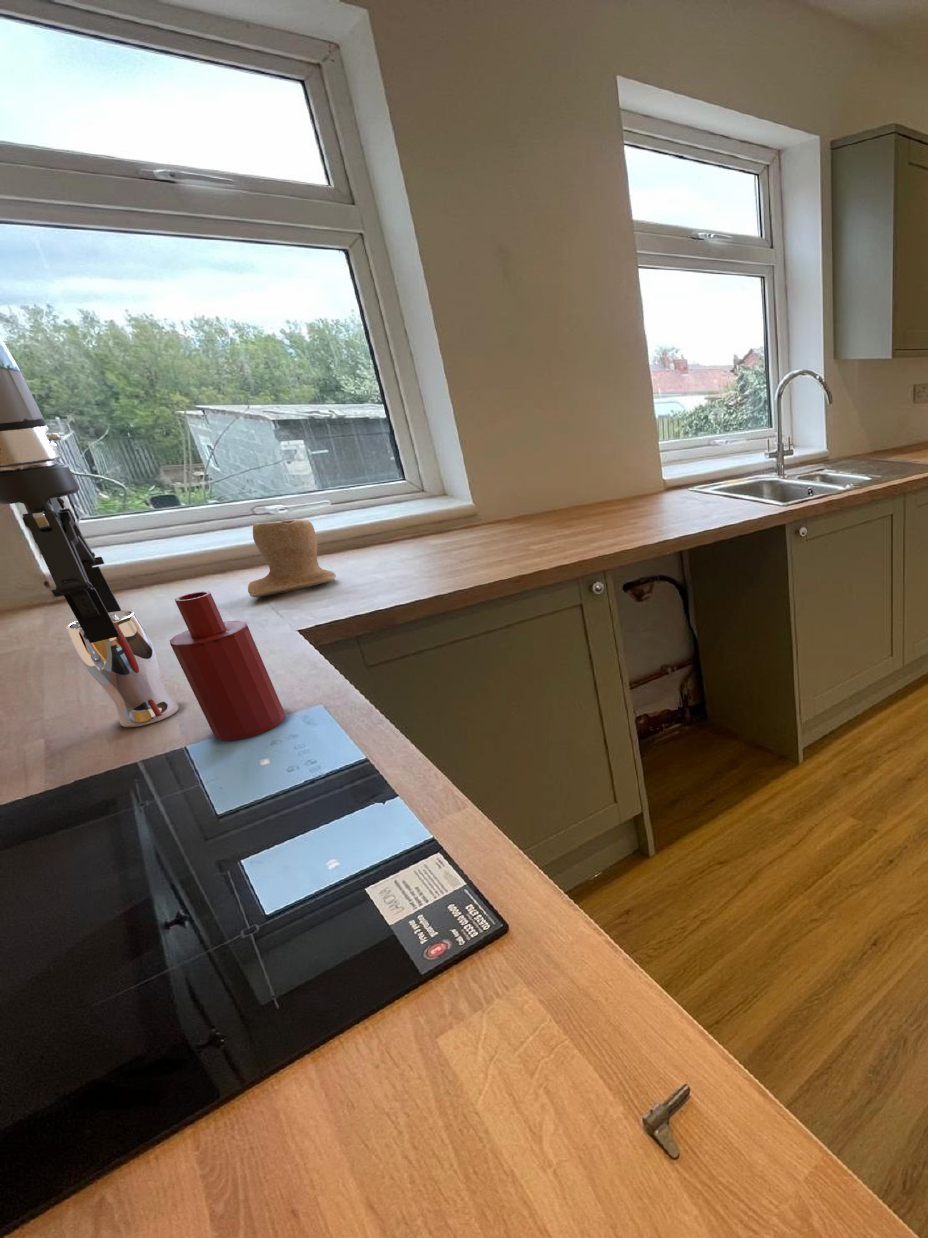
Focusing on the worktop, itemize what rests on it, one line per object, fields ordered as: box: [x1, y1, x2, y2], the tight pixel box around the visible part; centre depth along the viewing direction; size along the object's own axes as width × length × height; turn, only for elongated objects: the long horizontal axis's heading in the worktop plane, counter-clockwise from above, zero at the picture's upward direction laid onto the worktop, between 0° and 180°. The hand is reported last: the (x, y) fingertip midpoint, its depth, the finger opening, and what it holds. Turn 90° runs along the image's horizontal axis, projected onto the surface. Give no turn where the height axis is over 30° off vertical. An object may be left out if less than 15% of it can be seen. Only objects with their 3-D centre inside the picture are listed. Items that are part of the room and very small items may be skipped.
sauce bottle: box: [169, 590, 286, 742], centre depth 88 cm, size 8×8×19 cm
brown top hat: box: [247, 518, 337, 598], centre depth 144 cm, size 15×12×15 cm
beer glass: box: [65, 609, 180, 728], centre depth 93 cm, size 7×7×15 cm
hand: (106, 625), depth 90 cm, fingers open, 13 cm apart
